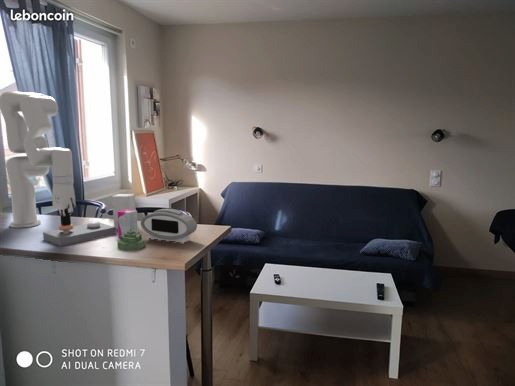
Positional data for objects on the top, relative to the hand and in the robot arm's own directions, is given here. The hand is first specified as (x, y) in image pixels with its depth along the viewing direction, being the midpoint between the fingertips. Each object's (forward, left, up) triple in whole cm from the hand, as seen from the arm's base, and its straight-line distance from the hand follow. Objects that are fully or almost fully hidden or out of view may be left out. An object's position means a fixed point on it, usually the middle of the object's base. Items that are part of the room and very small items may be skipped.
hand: (66, 225), depth 167 cm
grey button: (0, +12, -6) cm, 13 cm away
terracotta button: (0, 0, -5) cm, 5 cm away
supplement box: (+16, +18, -6) cm, 25 cm away
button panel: (0, +6, -6) cm, 9 cm away
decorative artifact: (+27, +12, -6) cm, 30 cm away
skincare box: (+2, +26, -6) cm, 27 cm away
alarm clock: (+31, +27, -6) cm, 42 cm away
